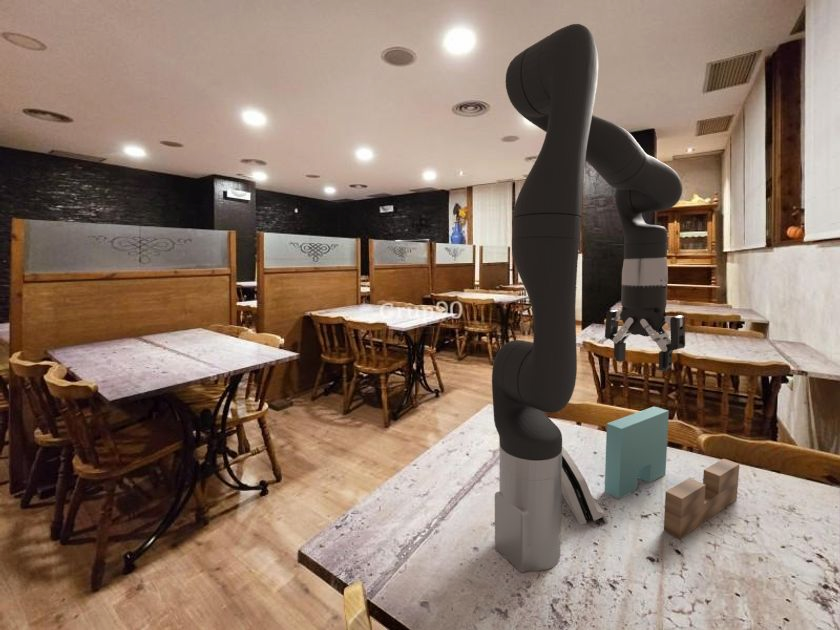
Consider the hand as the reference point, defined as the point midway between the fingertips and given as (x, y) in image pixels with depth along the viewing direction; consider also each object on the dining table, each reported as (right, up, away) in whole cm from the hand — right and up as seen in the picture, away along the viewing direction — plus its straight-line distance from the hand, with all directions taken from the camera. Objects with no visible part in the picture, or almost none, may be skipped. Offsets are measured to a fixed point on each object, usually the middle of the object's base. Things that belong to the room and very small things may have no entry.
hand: (641, 365), depth 77 cm
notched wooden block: (+7, -25, -7) cm, 27 cm away
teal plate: (+1, -24, +3) cm, 25 cm away
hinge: (-14, -26, -1) cm, 29 cm away
